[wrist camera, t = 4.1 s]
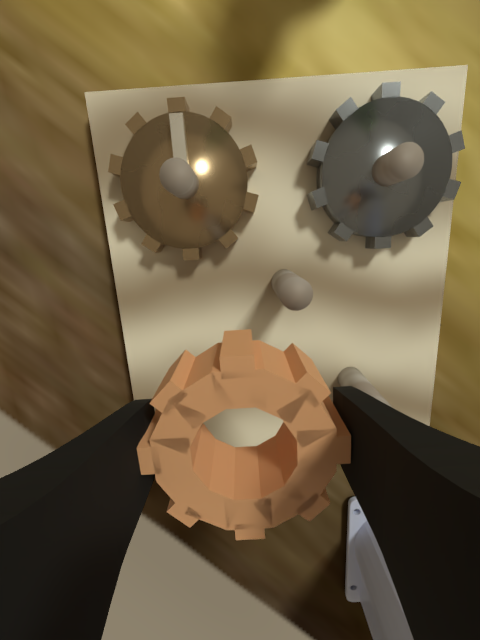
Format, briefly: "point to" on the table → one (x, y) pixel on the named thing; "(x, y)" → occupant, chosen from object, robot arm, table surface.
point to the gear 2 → (361, 153)
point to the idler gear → (253, 461)
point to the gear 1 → (208, 164)
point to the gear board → (283, 248)
